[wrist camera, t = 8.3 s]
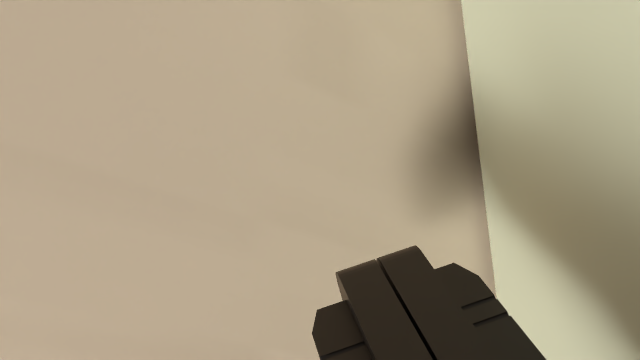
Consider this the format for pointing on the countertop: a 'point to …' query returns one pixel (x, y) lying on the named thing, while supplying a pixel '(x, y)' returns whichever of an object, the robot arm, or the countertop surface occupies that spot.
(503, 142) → the rack
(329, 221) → the countertop surface
